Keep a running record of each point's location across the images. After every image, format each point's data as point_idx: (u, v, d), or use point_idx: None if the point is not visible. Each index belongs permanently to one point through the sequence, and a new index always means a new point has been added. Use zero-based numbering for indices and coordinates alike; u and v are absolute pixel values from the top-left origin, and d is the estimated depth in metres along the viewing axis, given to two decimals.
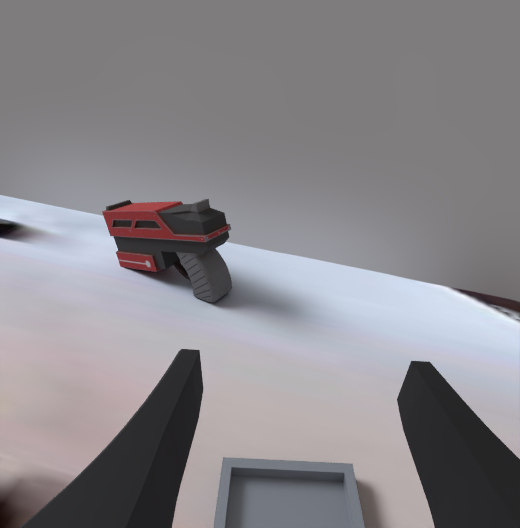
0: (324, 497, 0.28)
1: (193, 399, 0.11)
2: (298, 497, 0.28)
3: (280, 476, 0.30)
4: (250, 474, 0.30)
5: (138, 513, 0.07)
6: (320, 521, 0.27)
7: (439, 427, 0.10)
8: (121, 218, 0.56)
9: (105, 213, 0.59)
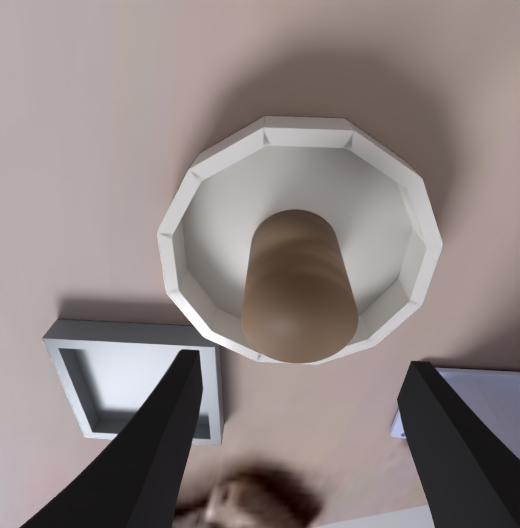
0: (93, 353, 0.25)
1: (193, 399, 0.11)
2: (101, 373, 0.26)
3: (85, 388, 0.26)
4: (92, 410, 0.28)
5: (138, 513, 0.07)
6: (120, 359, 0.25)
7: (439, 427, 0.10)
8: None
9: None
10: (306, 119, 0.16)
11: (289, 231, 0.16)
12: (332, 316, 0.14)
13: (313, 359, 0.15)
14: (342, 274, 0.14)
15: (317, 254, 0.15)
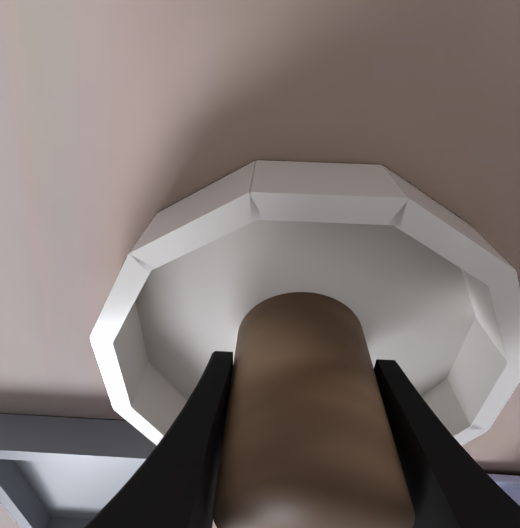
0: None
1: None
2: (47, 474, 0.20)
3: (28, 490, 0.20)
4: (40, 512, 0.22)
5: (193, 516, 0.07)
6: None
7: (397, 425, 0.10)
8: None
9: None
10: (322, 168, 0.10)
11: (294, 342, 0.10)
12: (368, 517, 0.08)
13: None
14: (385, 437, 0.09)
15: (342, 402, 0.09)
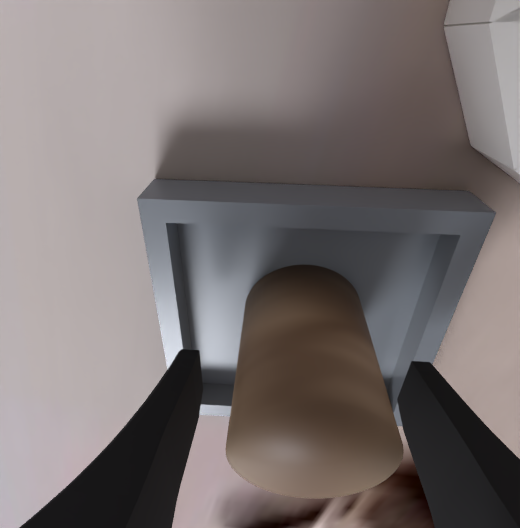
0: (216, 251, 0.13)
1: (193, 399, 0.11)
2: (221, 295, 0.14)
3: (187, 324, 0.15)
4: None
5: (138, 513, 0.07)
6: (262, 263, 0.13)
7: (439, 427, 0.10)
8: None
9: None
10: None
11: (300, 305, 0.11)
12: (363, 452, 0.09)
13: (329, 495, 0.11)
14: (379, 384, 0.10)
15: (344, 353, 0.10)
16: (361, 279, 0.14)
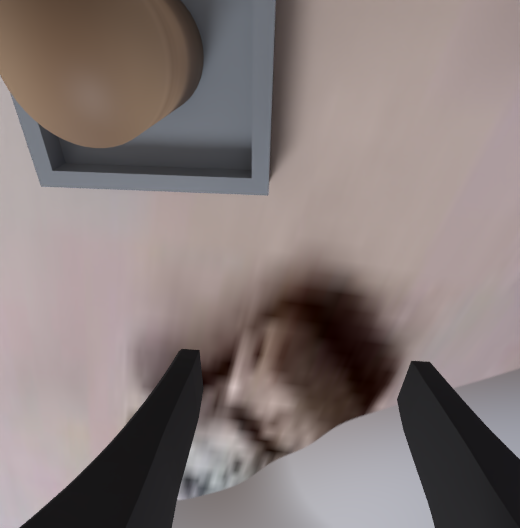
0: None
1: (193, 399, 0.11)
2: None
3: None
4: None
5: (138, 513, 0.07)
6: None
7: (439, 427, 0.10)
8: None
9: None
10: None
11: None
12: (121, 45, 0.09)
13: (118, 139, 0.11)
14: None
15: None
16: None
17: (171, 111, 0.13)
